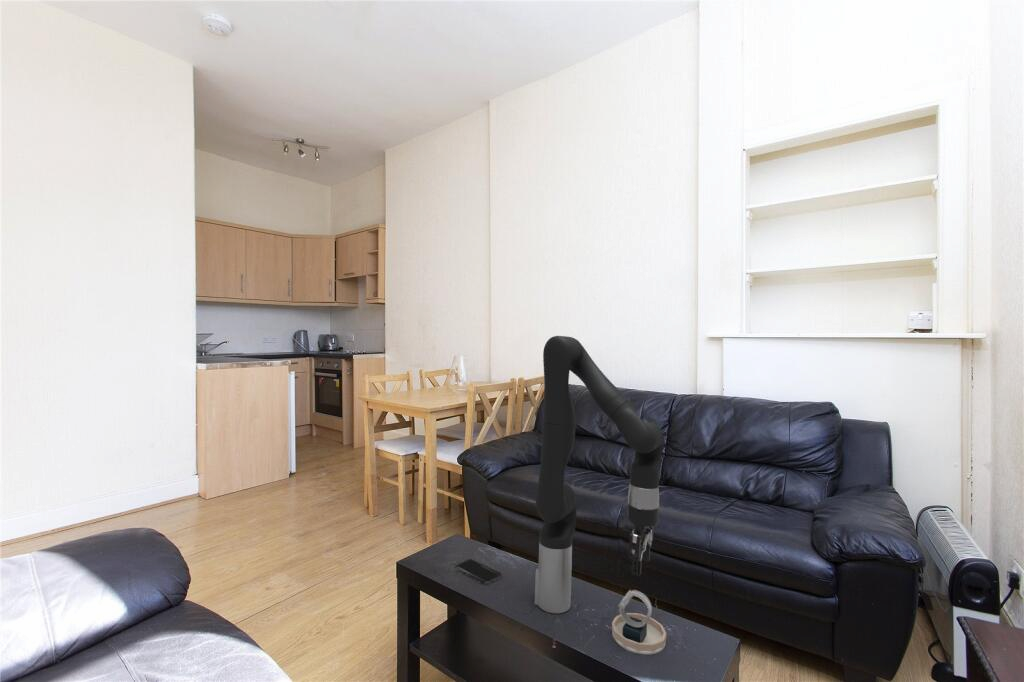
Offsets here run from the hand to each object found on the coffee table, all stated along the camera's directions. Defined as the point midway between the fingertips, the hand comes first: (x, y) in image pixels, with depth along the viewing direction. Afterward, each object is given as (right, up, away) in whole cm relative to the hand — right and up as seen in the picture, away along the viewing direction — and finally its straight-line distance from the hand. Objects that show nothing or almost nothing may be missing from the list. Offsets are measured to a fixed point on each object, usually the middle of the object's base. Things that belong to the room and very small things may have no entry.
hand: (640, 567), depth 112 cm
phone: (-43, -17, +30) cm, 55 cm away
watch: (-2, -17, -2) cm, 17 cm away
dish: (-1, -17, 0) cm, 17 cm away
